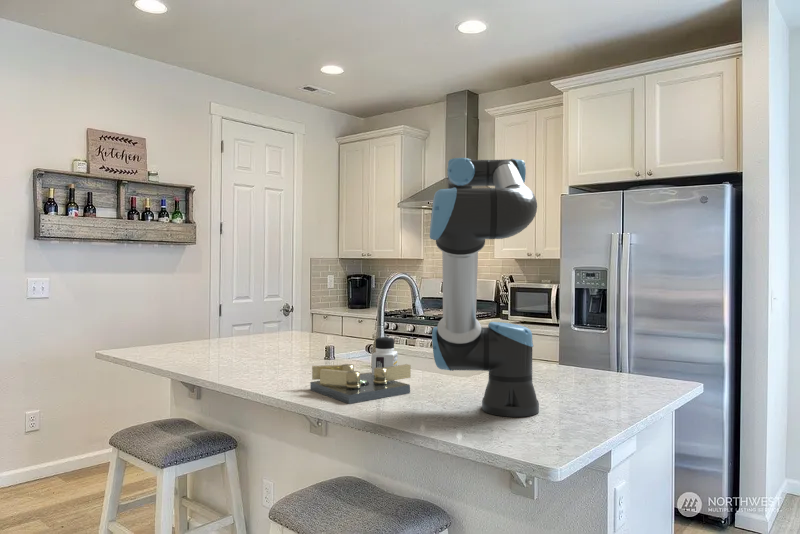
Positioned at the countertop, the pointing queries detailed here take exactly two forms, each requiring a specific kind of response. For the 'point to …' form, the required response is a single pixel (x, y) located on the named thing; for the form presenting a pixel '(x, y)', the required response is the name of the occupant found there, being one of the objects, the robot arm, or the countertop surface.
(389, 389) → the tribrach plate
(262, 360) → the countertop surface
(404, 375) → the knob
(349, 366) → the brass lever handle
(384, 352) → the container
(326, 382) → the knob
